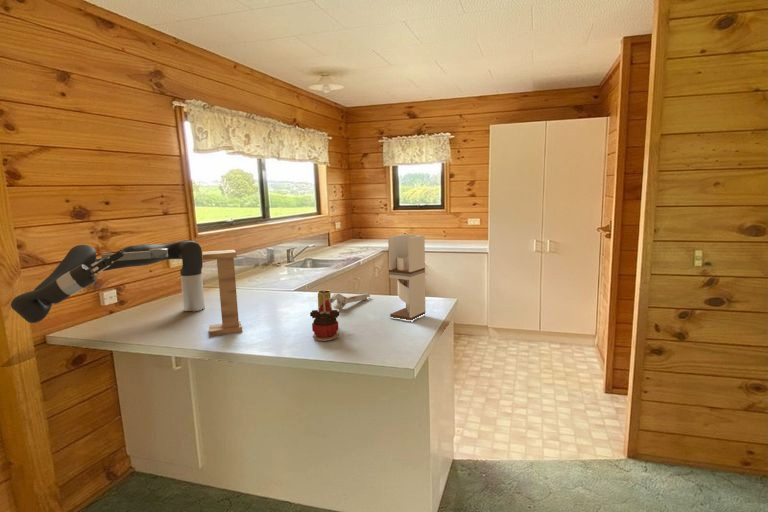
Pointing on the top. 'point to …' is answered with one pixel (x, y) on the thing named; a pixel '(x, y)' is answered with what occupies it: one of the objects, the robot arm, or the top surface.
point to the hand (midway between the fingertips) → (122, 252)
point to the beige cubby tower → (408, 273)
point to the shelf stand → (225, 292)
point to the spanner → (141, 254)
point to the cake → (325, 321)
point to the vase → (320, 296)
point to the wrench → (347, 299)
